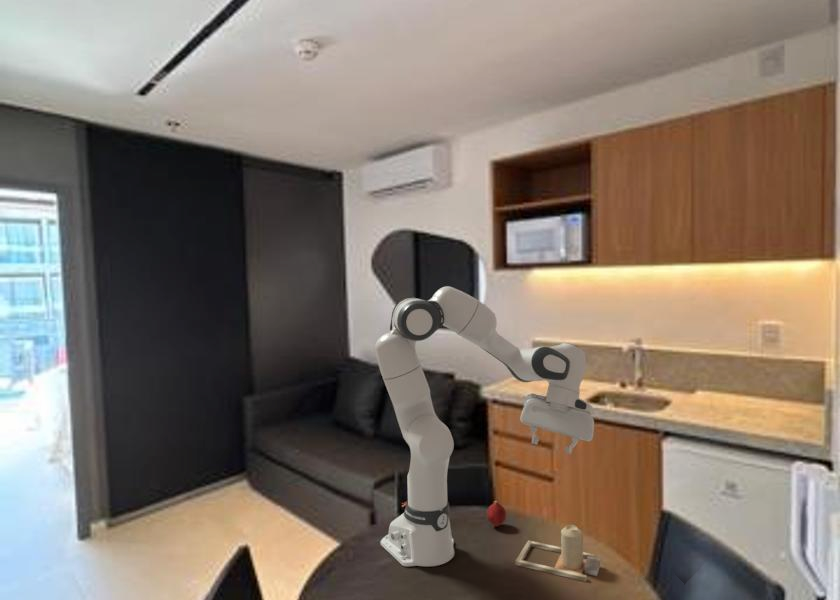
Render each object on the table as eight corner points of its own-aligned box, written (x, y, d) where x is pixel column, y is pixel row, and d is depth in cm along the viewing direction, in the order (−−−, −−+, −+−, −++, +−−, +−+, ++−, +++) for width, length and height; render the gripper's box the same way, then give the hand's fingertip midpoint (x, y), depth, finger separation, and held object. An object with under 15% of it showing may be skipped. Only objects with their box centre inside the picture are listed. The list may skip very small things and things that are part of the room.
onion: (496, 520, 161) (495, 495, 161) (510, 526, 157) (509, 500, 157) (483, 526, 158) (482, 500, 157) (497, 532, 153) (496, 506, 153)
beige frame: (515, 564, 135) (515, 557, 135) (528, 543, 146) (528, 536, 146) (594, 583, 126) (594, 575, 126) (602, 559, 137) (601, 552, 136)
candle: (584, 571, 131) (583, 532, 131) (562, 569, 132) (561, 531, 132) (582, 559, 136) (581, 522, 136) (560, 558, 137) (560, 521, 137)
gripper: (523, 389, 147) (512, 437, 144) (596, 406, 138) (586, 457, 134) (528, 394, 153) (517, 439, 149) (599, 410, 143) (589, 459, 140)
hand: (550, 448), depth 142 cm, fingers open, 8 cm apart
